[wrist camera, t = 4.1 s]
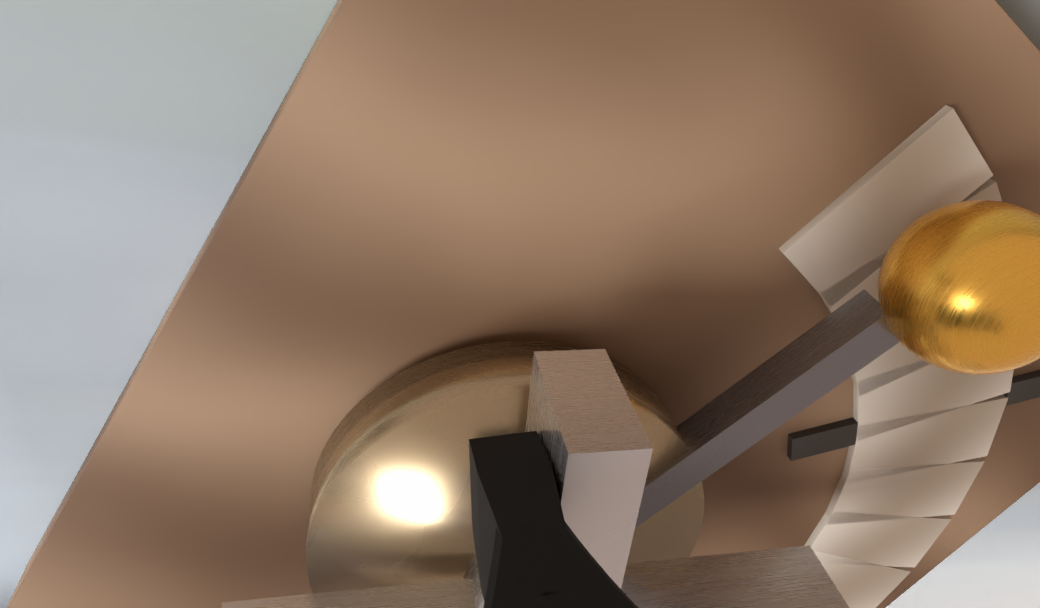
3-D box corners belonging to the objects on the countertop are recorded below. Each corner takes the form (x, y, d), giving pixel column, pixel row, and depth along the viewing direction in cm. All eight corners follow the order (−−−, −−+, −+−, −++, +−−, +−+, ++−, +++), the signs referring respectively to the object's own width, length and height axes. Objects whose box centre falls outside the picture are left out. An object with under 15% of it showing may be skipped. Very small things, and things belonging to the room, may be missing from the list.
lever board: (672, 723, 26) (690, 774, 24) (26, 565, 17) (-5, 631, 15) (1199, 272, 19) (1267, 307, 17) (567, -416, 10) (602, -462, 8)
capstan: (794, 644, 21) (879, 801, 18) (268, 710, 18) (245, 913, 15) (1004, 166, 14) (1223, 274, 10) (173, 155, 11) (82, 299, 7)
